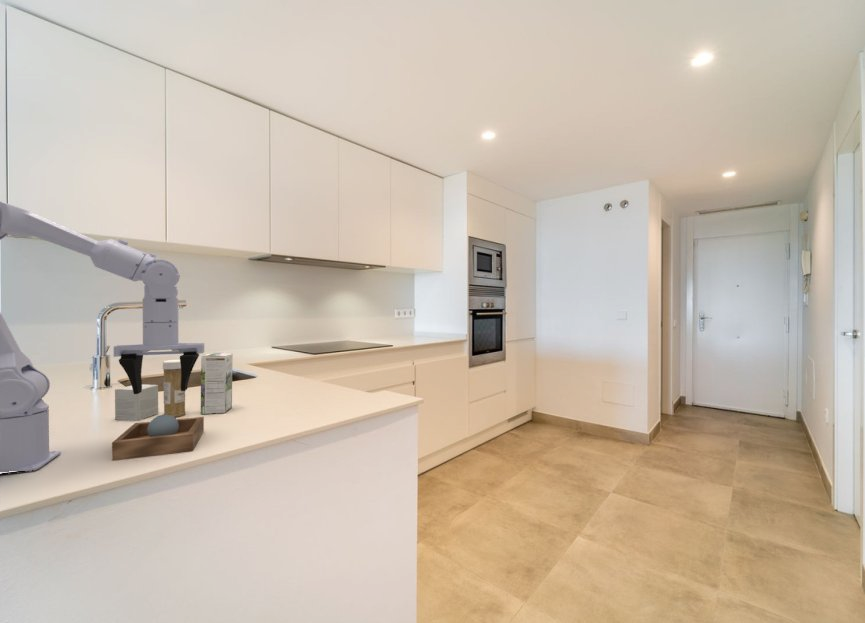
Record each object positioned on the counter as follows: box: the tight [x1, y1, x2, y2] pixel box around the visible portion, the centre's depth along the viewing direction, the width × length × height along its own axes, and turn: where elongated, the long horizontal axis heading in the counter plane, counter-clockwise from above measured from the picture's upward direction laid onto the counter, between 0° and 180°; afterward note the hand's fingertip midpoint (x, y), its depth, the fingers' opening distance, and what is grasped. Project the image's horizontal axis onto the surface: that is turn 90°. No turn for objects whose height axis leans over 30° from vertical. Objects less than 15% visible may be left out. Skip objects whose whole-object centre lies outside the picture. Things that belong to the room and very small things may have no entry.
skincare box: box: [114, 383, 159, 422], centre depth 93 cm, size 6×6×7 cm
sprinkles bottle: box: [162, 359, 187, 418], centre depth 94 cm, size 5×5×14 cm
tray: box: [111, 416, 205, 461], centre depth 75 cm, size 12×12×3 cm
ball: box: [147, 414, 179, 437], centre depth 75 cm, size 5×5×5 cm
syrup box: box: [200, 352, 234, 415], centre depth 98 cm, size 6×6×14 cm
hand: (161, 391), depth 76 cm, fingers open, 7 cm apart
